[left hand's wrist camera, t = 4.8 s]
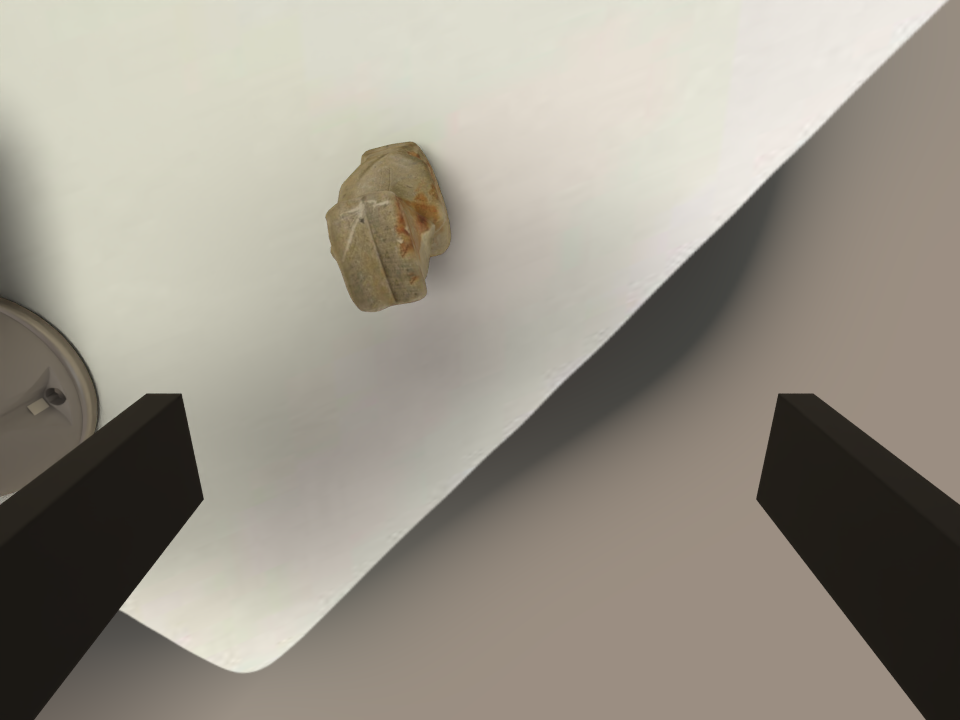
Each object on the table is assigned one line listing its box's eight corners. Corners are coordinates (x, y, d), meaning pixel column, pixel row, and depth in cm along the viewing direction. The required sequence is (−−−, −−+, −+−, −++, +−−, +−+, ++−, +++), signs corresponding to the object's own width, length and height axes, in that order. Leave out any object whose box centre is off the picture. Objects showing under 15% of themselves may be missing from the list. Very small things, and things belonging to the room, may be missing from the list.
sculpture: (379, 262, 39) (323, 330, 25) (353, 151, 36) (274, 159, 22) (463, 248, 38) (453, 309, 24) (443, 135, 36) (419, 133, 22)
